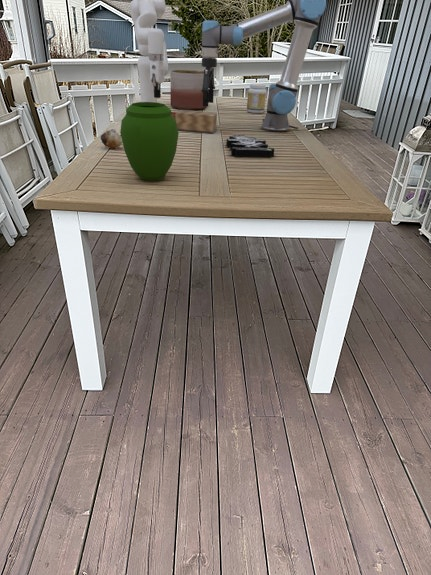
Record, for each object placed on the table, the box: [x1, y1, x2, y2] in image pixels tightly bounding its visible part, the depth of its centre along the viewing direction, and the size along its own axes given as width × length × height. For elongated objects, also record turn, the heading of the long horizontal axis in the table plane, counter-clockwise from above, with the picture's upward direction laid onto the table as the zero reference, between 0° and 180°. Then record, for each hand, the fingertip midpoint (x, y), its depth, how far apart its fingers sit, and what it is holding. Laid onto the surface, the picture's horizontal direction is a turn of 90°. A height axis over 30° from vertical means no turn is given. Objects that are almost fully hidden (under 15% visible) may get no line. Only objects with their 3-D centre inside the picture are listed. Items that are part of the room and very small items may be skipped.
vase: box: [119, 101, 179, 182], centre depth 140 cm, size 20×20×24 cm
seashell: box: [100, 128, 123, 149], centre depth 178 cm, size 10×6×8 cm, turn 91°
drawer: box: [171, 111, 177, 120], centre depth 220 cm, size 24×10×7 cm, turn 79°
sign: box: [225, 134, 275, 158], centre depth 189 cm, size 19×3×30 cm
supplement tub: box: [246, 83, 267, 114], centre depth 274 cm, size 12×12×17 cm
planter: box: [170, 69, 207, 111], centre depth 276 cm, size 25×25×22 cm
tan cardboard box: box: [175, 109, 218, 135], centre depth 218 cm, size 20×11×9 cm, turn 79°
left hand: (157, 97), depth 215 cm, fingers closed
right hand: (208, 104), depth 213 cm, fingers open, 13 cm apart
